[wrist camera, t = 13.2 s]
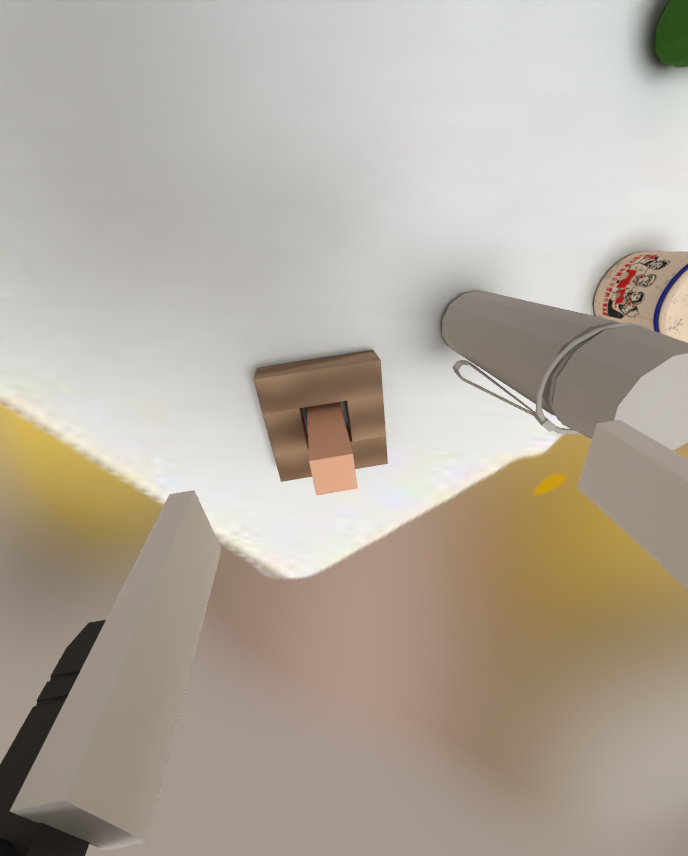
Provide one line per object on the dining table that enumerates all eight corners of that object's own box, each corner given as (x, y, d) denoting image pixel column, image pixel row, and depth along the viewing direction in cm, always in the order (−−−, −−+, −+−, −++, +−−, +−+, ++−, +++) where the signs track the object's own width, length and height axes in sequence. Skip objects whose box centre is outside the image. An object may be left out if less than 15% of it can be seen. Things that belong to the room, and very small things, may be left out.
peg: (306, 399, 42) (309, 461, 30) (337, 394, 42) (352, 453, 30) (311, 427, 44) (316, 495, 32) (341, 422, 44) (357, 488, 32)
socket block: (257, 368, 40) (253, 379, 36) (373, 350, 40) (380, 359, 37) (282, 464, 46) (281, 481, 43) (381, 447, 47) (387, 463, 43)
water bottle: (466, 273, 37) (705, 306, 15) (510, 314, 40) (765, 392, 18) (413, 341, 40) (549, 450, 18) (458, 375, 43) (621, 506, 21)
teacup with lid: (620, 239, 37) (740, 234, 27) (680, 261, 39) (813, 265, 29) (563, 343, 43) (646, 372, 32) (618, 358, 45) (713, 390, 34)
